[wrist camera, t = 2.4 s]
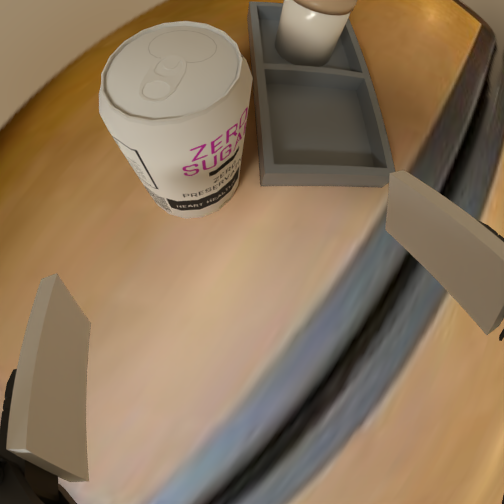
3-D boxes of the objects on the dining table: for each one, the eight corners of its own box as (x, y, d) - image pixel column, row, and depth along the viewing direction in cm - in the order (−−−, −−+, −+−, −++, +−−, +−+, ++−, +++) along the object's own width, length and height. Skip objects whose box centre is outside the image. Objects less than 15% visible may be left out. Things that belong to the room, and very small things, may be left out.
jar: (276, 66, 30) (293, 2, 20) (271, 28, 30) (283, -32, 21) (336, 71, 30) (365, 13, 21) (325, 33, 31) (347, -22, 22)
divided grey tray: (260, 186, 28) (264, 173, 25) (247, 18, 31) (249, 1, 28) (382, 187, 29) (396, 176, 26) (339, 27, 32) (345, 12, 29)
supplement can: (167, 129, 28) (135, 10, 13) (250, 149, 28) (273, 30, 14) (135, 206, 27) (61, 118, 12) (224, 231, 27) (224, 152, 12)
